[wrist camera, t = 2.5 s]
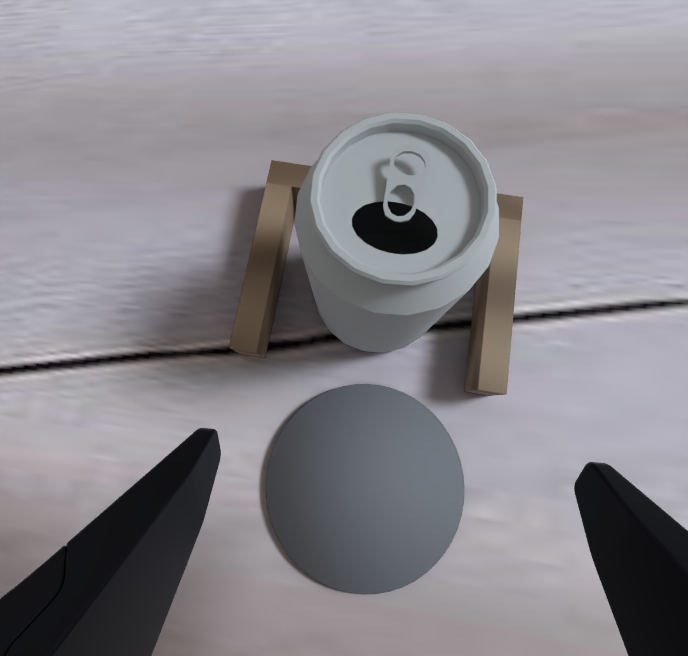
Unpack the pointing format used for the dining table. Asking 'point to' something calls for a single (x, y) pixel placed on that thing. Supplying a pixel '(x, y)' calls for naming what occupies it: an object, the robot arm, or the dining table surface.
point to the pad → (365, 489)
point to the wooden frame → (489, 298)
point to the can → (395, 227)
